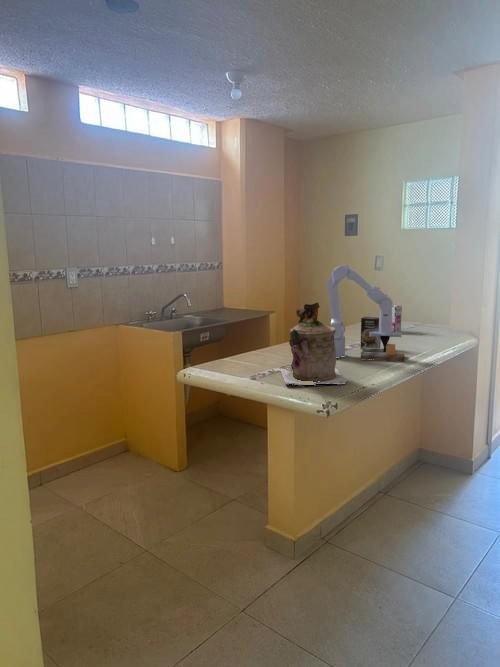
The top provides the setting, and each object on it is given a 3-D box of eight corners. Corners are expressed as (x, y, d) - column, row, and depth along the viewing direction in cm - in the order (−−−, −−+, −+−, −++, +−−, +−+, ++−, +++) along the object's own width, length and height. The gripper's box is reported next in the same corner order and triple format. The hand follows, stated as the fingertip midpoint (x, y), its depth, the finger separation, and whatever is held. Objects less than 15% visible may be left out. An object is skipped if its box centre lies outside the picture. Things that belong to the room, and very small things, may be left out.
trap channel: (360, 359, 230) (360, 352, 229) (362, 354, 240) (362, 347, 240) (404, 361, 224) (404, 354, 224) (404, 356, 235) (404, 349, 234)
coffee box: (360, 349, 252) (360, 318, 249) (363, 346, 257) (363, 316, 254) (378, 350, 247) (378, 319, 244) (381, 348, 253) (381, 317, 250)
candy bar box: (401, 333, 288) (402, 305, 285) (394, 334, 286) (395, 306, 283) (388, 330, 298) (389, 303, 295) (382, 331, 296) (382, 304, 293)
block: (385, 354, 230) (386, 345, 229) (386, 352, 233) (386, 343, 232) (394, 355, 228) (395, 346, 228) (394, 353, 232) (395, 344, 231)
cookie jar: (335, 369, 215) (336, 296, 209) (348, 386, 191) (349, 304, 185) (279, 371, 215) (278, 298, 208) (285, 388, 190) (284, 306, 184)
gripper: (369, 324, 227) (368, 353, 230) (401, 325, 223) (400, 354, 226) (370, 321, 234) (369, 349, 236) (401, 322, 230) (401, 350, 232)
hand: (384, 351), depth 231 cm, fingers closed, pressing on block
